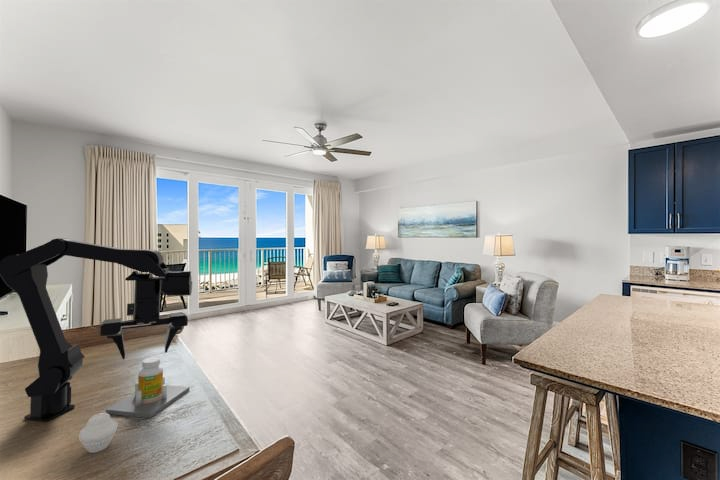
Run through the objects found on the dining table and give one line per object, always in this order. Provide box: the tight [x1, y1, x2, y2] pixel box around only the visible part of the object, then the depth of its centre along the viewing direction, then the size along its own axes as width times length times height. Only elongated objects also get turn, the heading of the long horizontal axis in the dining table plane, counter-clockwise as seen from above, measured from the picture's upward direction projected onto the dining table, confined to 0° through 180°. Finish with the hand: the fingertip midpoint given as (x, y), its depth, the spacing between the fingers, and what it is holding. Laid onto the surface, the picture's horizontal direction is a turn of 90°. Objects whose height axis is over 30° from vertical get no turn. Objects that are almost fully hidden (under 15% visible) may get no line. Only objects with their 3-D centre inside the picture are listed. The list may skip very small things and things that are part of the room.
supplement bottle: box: [137, 356, 164, 401], centre depth 82 cm, size 5×5×10 cm
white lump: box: [78, 412, 119, 454], centre depth 64 cm, size 6×6×7 cm
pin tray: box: [105, 376, 190, 419], centre depth 82 cm, size 14×12×4 cm
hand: (145, 355), depth 83 cm, fingers open, 9 cm apart
